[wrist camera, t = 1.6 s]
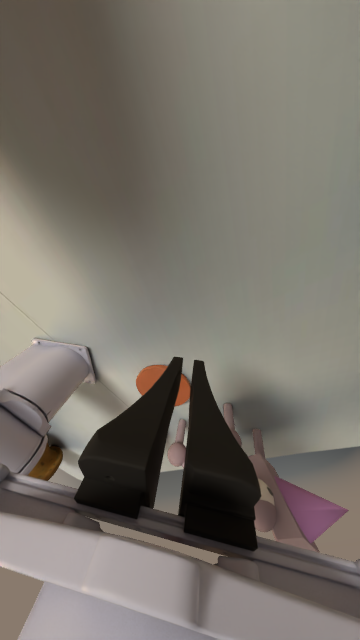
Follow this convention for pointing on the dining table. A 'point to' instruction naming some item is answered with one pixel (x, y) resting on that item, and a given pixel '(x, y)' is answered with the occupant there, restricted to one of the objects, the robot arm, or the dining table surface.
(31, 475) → the brown looped sculpture
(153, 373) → the terracotta coaster
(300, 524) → the toy sheep
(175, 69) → the dining table surface
